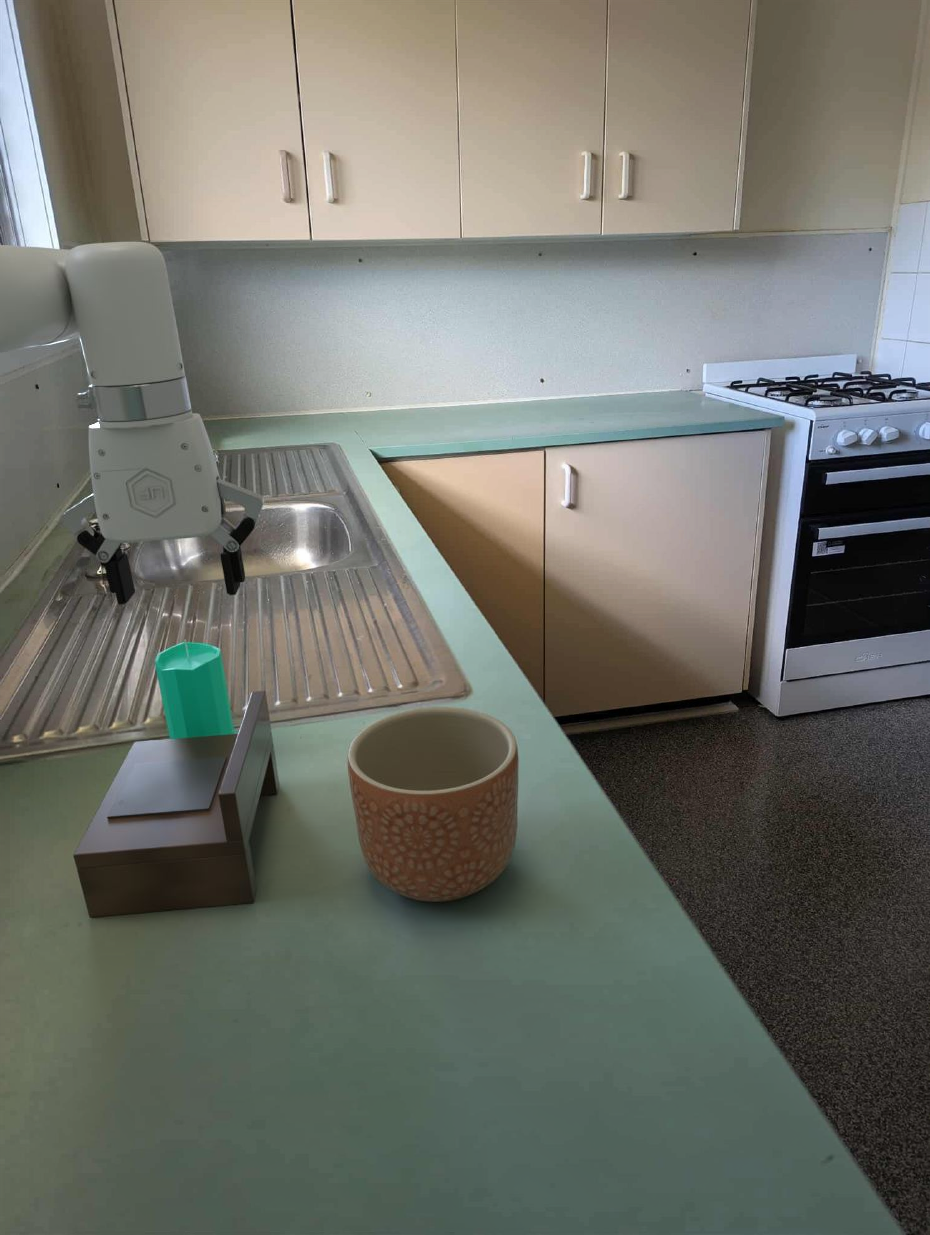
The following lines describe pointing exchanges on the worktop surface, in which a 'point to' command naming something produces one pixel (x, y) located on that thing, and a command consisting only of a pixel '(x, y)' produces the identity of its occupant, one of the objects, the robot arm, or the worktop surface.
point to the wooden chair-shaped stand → (180, 822)
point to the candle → (194, 691)
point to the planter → (435, 800)
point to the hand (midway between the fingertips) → (180, 594)
